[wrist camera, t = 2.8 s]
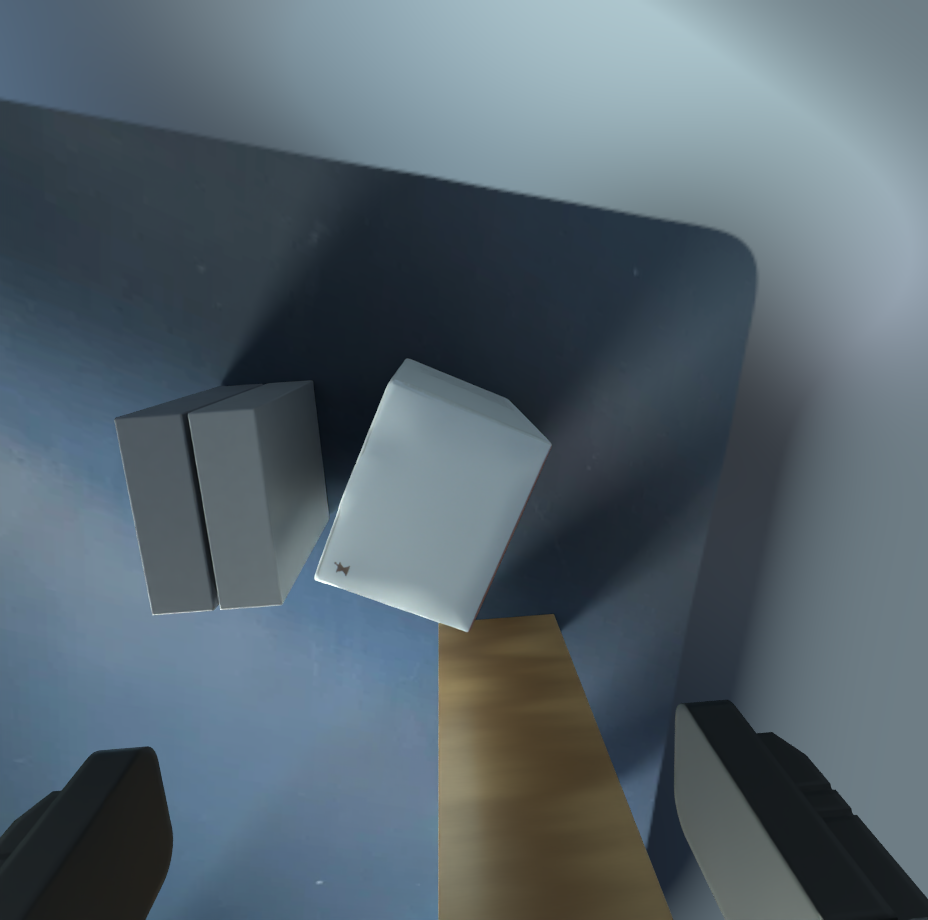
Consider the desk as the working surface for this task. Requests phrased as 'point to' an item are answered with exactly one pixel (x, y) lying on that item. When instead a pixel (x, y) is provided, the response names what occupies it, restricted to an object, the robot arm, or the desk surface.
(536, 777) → the shelf stand
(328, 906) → the desk surface
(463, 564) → the small box
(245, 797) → the desk surface
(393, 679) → the desk surface
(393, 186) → the desk surface
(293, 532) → the grey books
